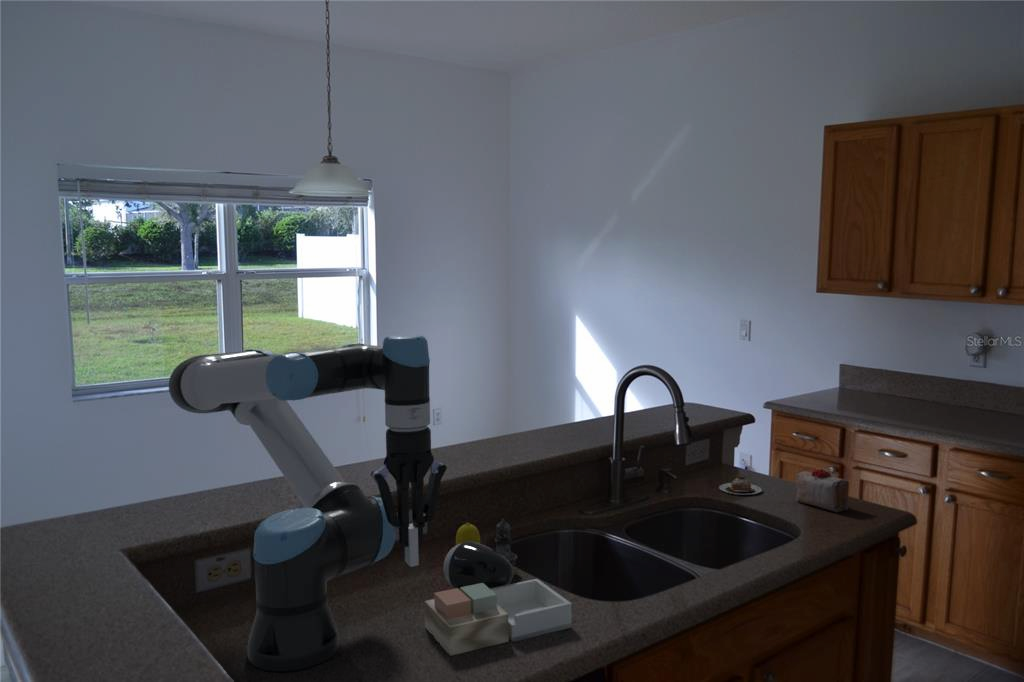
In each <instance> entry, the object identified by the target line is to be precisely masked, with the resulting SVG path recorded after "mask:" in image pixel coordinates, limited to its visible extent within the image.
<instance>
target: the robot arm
mask: <svg viewBox="0 0 1024 682" xmlns="http://www.w3.org/2000/svg"><path fill="white" fill-rule="evenodd" d="M430 363H431V362H430V354H429V344H428V339H427V337H425V336H422V335H419V334H411V335H410V334H398V335H396V334H395V335H388V336H385V338H384V339H383V342H382V345H372V344H365V343H360V342H359V343H349V344H344V345H342V346H341V347H335V348H327V349H316V350H306V351H292V352H291V351H290V352H285V353H282V354H276V353H274V352H272V351H270V350H266V349H253V348H251V349H245V350H243V351H235V352H223V353H222V352H221V353H212V354H201V355H196V356H192V357H190V358H188V359H185V360H183V361H182V362H181V363H179V364H178V365H177V366H176V367H175V368H174V369H173V371H172V373H171V374H170V376H169V381H168V391H169V395H170V397H171V399H172V401H173V403H174V404H176V406H178V407H179V408H180V409H182V410H184V411H186V412H188V413H193V414H211V413H218V412H219V413H220V412H226V411H229V412H231V414H232V415H233V416H234V417H233V418H235V420H236V421H237V422H238V423H239V424H241V425H243V426H250V428H251V430H252V431H253V432H254V434H255V436H256V437H257V438H258V440H259V441H260V443H261V444H262V445H263V447H264V449H265V450H266V451H267V453H268V455H269V456H270V458H271V459H272V460H273V463H275V465H276V467H277V468H278V470H279V471H280V472H281V474H282V475H283V477H284V478H285V480H286V481H287V483H288V484H289V486H290V487H291V489H292V490H293V491H294V493H295V495H296V496H297V497H298V498H299V499H298V500H300V502H301V503H302V505H303V506H304V507H298V508H295V509H291V508H290V509H286V510H284V511H283V510H282V511H279V512H276V513H274V514H273V515H270V516H268V517H266V518H265V519H264V520H262V521H261V522H260V523H259V524H258V525H257V527H256V528H255V529H256V530H255V532H254V536H253V537H254V538H253V550H252V555H253V558H254V573H255V574H254V577H255V595H256V596H255V598H256V613H255V617H254V620H253V623H252V626H251V630H250V633H249V636H248V637H249V638H248V642H247V648H246V649H247V658H248V659H247V660H248V661H249V663H250V664H251V665H252V666H254V667H256V668H258V669H259V670H263V671H269V672H270V671H271V672H293V671H299V670H305V669H308V668H311V667H315V666H317V665H319V664H321V663H323V662H325V661H327V660H329V659H330V658H332V657H333V656H334V655H335V654H336V653H337V651H338V650H339V647H340V637H339V636H340V635H339V630H338V626H337V623H336V622H335V619H334V616H333V614H332V611H331V608H330V606H329V604H328V603H329V602H328V591H327V590H328V587H327V585H328V584H327V582H328V581H330V580H333V579H336V578H338V577H340V576H342V575H346V574H348V573H351V572H353V571H356V570H360V569H362V568H365V567H369V566H372V565H374V564H375V563H376V562H378V561H380V560H383V559H385V558H386V557H387V556H388V555H389V554H390V552H391V551H392V549H393V547H394V546H395V541H396V536H397V535H396V534H397V532H396V528H398V538H399V539H398V540H399V541H398V542H399V544H400V546H401V547H403V548H404V562H405V563H406V565H408V566H409V567H410V568H411V567H417V566H419V565H420V563H419V562H420V561H419V560H420V559H419V545H422V544H423V542H424V528H425V526H426V523H428V522H432V521H433V520H434V517H435V512H436V507H437V502H438V497H439V492H440V487H441V482H442V478H443V477H444V475H445V473H446V471H447V465H445V464H443V463H442V462H441V461H436V460H435V458H434V455H433V454H432V453H433V452H432V440H431V439H432V434H431V433H432V431H431V428H430V427H429V425H430V424H431V399H430V398H431V397H430ZM362 389H364V390H365V389H372V390H373V389H375V390H380V391H381V390H382V391H384V413H385V415H384V418H385V419H384V421H385V423H384V424H385V426H386V427H387V429H386V431H385V448H386V449H385V450H386V455H385V458H384V461H383V465H382V466H381V467H380V468H378V469H377V470H373V471H372V472H371V473H370V475H371V477H372V478H373V480H374V481H375V483H376V484H377V486H378V487H377V488H378V492H379V495H380V497H379V496H378V497H377V496H373V495H370V496H368V497H367V496H366V494H365V493H364V492H363V491H362V489H361V488H360V487H359V485H358V484H356V483H354V482H346V481H345V480H344V478H343V477H342V476H341V474H340V473H339V471H338V470H337V468H336V467H335V466H334V464H333V463H332V462H331V460H330V458H328V456H327V455H326V454H325V452H324V451H323V449H322V448H321V446H320V445H319V444H318V442H317V441H316V439H315V438H314V437H313V435H312V433H310V431H309V429H308V428H307V427H306V425H305V424H304V422H303V421H302V420H301V419H300V417H299V416H298V414H297V413H296V412H295V410H294V409H293V407H292V406H291V405H290V404H289V402H288V401H299V400H304V399H308V398H314V397H319V396H320V397H321V396H326V395H329V394H330V395H331V394H339V393H345V392H350V391H355V390H356V391H357V390H362ZM428 471H430V474H429V477H428V483H427V487H426V491H425V492H426V493H425V497H424V489H423V488H424V485H425V484H424V483H425V482H424V478H425V477H426V475H427V473H428ZM388 473H389V475H391V476H392V478H393V479H394V480H395V486H396V497H397V500H396V502H397V503H396V505H397V506H396V507H397V510H396V507H395V503H394V500H393V496H392V493H391V488H390V486H389V483H388V479H389V475H388ZM410 485H411V486H410ZM410 488H411V489H410ZM409 489H410V490H411V491H410V493H411V517H412V523H410V504H409V503H410V502H409V501H410V500H409Z"/></svg>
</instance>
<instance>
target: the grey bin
mask: <svg viewBox="0 0 1024 682" xmlns="http://www.w3.org/2000/svg"><path fill="white" fill-rule="evenodd" d="M491 590H492V591H493V592H494V593H495V594H497V605H499V606H500V607H501V608H502V609H503V610H504V611H506V612H507V613H508V627H509V640H510V641H511V642H512V643H514V642H519V641H522V640H526V639H530V638H534V637H538V636H543V635H546V634H551V633H554V632H557V631H558V632H559V631H562V630H567V629H570V628H572V625H573V624H572V620H573V619H572V602H570V601H569V600H568V599H566V598H564V596H562V595H561V594H559V593H558V592H557V591H555V590H554V589H552V588H551V587H550V586H548V585H547V584H545V583H544V582H543V581H541V580H540V579H539V578H534V579H529V580H524V581H519V582H515V583H510V584H509V585H505V586H500V587H495V588H491Z"/></svg>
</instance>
